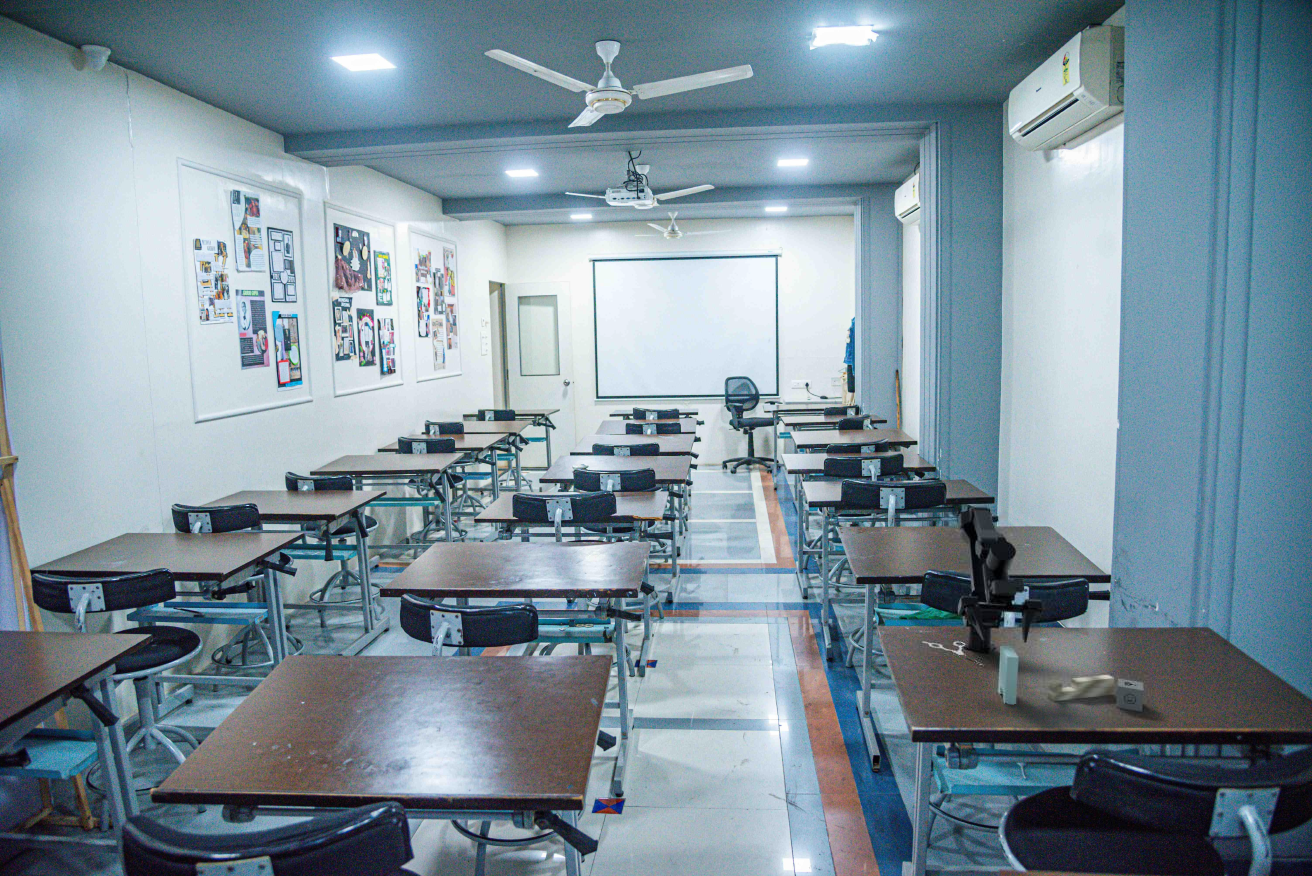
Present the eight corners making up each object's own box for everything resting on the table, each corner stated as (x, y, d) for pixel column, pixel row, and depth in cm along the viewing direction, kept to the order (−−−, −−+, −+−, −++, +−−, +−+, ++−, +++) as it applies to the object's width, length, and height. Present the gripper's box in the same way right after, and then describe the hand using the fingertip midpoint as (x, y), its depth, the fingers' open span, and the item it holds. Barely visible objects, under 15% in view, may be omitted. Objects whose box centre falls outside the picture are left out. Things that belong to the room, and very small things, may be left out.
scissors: (958, 639, 236) (999, 665, 217) (958, 642, 236) (999, 668, 217) (922, 641, 234) (960, 668, 215) (922, 644, 234) (960, 671, 215)
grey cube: (1116, 699, 198) (1118, 678, 197) (1141, 703, 195) (1143, 682, 195) (1116, 707, 193) (1117, 686, 193) (1142, 712, 191) (1143, 690, 190)
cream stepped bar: (1053, 701, 196) (1054, 684, 196) (1047, 697, 198) (1048, 680, 198) (1113, 694, 200) (1114, 677, 200) (1106, 691, 202) (1107, 674, 201)
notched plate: (998, 691, 202) (1000, 645, 200) (1009, 692, 201) (1011, 646, 200) (1004, 703, 195) (1007, 656, 193) (1016, 704, 194) (1018, 657, 193)
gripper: (962, 563, 207) (968, 622, 197) (1044, 566, 203) (1055, 627, 194) (955, 586, 215) (960, 644, 206) (1034, 590, 212) (1044, 649, 202)
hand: (1004, 640), depth 202 cm, fingers open, 9 cm apart
